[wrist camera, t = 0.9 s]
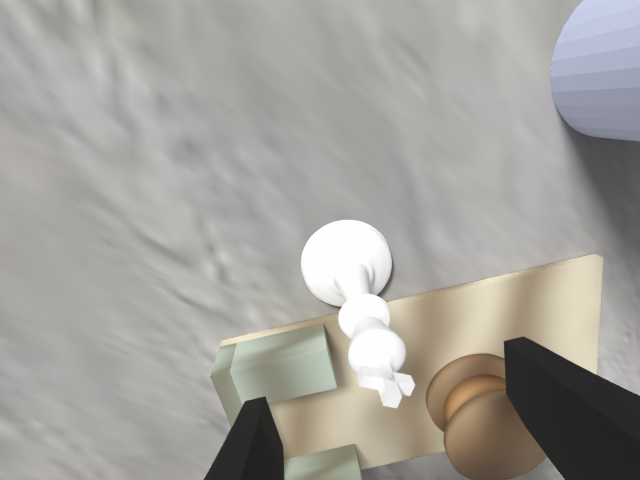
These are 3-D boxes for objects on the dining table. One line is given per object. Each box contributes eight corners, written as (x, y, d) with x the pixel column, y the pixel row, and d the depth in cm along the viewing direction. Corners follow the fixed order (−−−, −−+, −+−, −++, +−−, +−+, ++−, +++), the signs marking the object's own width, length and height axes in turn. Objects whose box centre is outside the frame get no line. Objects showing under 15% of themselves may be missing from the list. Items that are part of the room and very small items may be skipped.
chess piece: (315, 209, 19) (337, 310, 9) (403, 232, 19) (505, 349, 10) (290, 291, 20) (287, 450, 11) (373, 310, 21) (436, 473, 12)
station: (594, 253, 21) (665, 287, 17) (587, 410, 25) (642, 467, 21) (221, 340, 21) (204, 394, 17) (275, 480, 25) (272, 550, 21)
